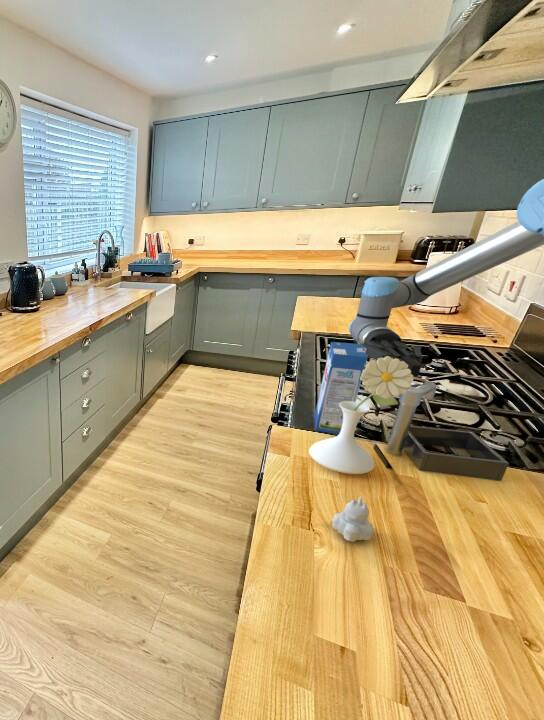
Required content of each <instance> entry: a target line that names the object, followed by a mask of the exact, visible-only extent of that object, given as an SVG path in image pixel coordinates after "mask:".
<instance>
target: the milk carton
mask: <svg viewBox="0 0 544 720" xmlns="http://www.w3.org/2000/svg"><path fill="white" fill-rule="evenodd" d="M368 358H369V356H368V355H367V354H366V352H365V349H364V347H363V344H360V343H351V342H349V343H348V342H341V341H340V342H338V341H330V345H329V349H328V352H327V358H326V363H325V367H324V372H323V375H322V380H321V384H320V388H319V394H318V396H317V397H318V398H317V402H316V406H315V410H314V424H315V427H314V428H315V431H317V432H323V433H329V434H335V435H339V433H340V432H341V429H342V425H343V411H342V409H341V407H340V405H339V403H340V402H343V401H352V402H357V400H358V399H357V398H355V397H353V396H350V395H348V394H346V393H345V392H344V389H345V390H346V391H347V392H348V393H350V394H352V395H355V396H357V397H358V394H359V391H360V387H361V384H362V380H360V377H361V374H362V373H363V370H364V369H365V368H366V365H367V363H368Z"/></svg>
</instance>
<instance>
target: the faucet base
mask: <svg viewBox="0 0 544 720" xmlns="http://www.w3.org/2000/svg"><path fill="white" fill-rule="evenodd" d="M417 407H418V406H408V405H404V404H402V403H400V402H399V405H398V409H397V412H396V415H395V419H394V421H393V424H392V428H391V431H390V434H389V437H388V441H387V443H386V446H385V450H384V452H385V453H386V454H388V455H390V456H394V457H400V456H401V455H402V453H403V447H404V444H405V441H406V438H407V435H408V432H409V429H410V426H412V423H413V419H414V416H415V414H416V410H417ZM373 450H374V452H375V453H376V455H377V456H378V458H379V459H380V460H381V462H382V464H383V465H384V467H385V468H386V469H394V467H393V466H392V464H391V463H390V461H389V460H388V459H387V457H386V456H385V455H384V453H383V451H382V450H381V449H380V447H379V446H378V444H377V443H374V445H373Z"/></svg>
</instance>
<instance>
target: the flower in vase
mask: <svg viewBox="0 0 544 720" xmlns="http://www.w3.org/2000/svg"><path fill="white" fill-rule="evenodd" d="M407 368H408V364H406V363H405V362H404V361H401V362H400V360H399V359H397V358H395V359H393V358H391V357H389V356H386V357H385V358H379V359H378V360H375V359H372V360H370V361H367V363H366V365H365V369H364V370H363V373H362V374H361V377H360V380H361V384H362V386H364V390H365V391H366V392H369V395H367V397H365V398H364V399H363V400H362V398H360V397H358V395H357V396H355V395H352V394H350V393H348V392H347V391H346V390H345V389H344V392H345V393H346V394H348V395H350V396H353V397H355V398H357V399H356V400H359V401H360V402H358V401H356V402H352V401H343V402H340V403H339V405H340V407H341V409H342V411H343V425H342V429H341V432H340V433H339V434H337V435H336V436H334V437H331V438H330V437H329V438H326V439H322V440H319V441H317V442H314V443H313V444H312V445H311V446H310V447H309V450H308V452H309V455H310V458H311V459H312V460H313V461H315V462H316V463H317V464H319V465H320V466H322V467H324V468H326V469H328V470H331V471H333V472H337V473H342V474H347V475H363V474H367V473H369V472H371V471H373V470H374V468H375V461H374V457H373V456H371V454H370V452H368V451H367V450H366V449H365V448H364V447H363V446H361V444H359V443H358V442H357V441H356V439H355V431H356V429H357V426H358V423H359V422H360V420H361V418H362V417H363V416H364V415H365V414H367V413H368V412H370V410H371V408H370V407H369V406H368V405H367V404H364V402H366V401H368V400H369V399H371V397H372V399H373V400H374V402H375V403H376V404H377V405H379V406H382V407H383V406H385V407H386V406H395V405H398V404H399V405H400V402H399V401H397V399H396V398H395V397H400V396H401V394H405V393H406V392H407V388H410V387H412V382H414V376H413V375H412V374H411V370H410V369H407Z"/></svg>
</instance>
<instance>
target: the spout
mask: <svg viewBox="0 0 544 720" xmlns="http://www.w3.org/2000/svg"><path fill="white" fill-rule="evenodd" d="M436 391H437V384H436V383H435V382H434V381H426V382H423V383H422V384H420V385H417V386H411V387H410V388H407V392H406V393H405V394H401V395H399V399H398V403H399V404H400V403H402V404H404V405H408V406H417V407H419V406H420V404H421V401H422V400H423V399H424V400H433V399H434V397H435V394H436Z"/></svg>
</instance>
